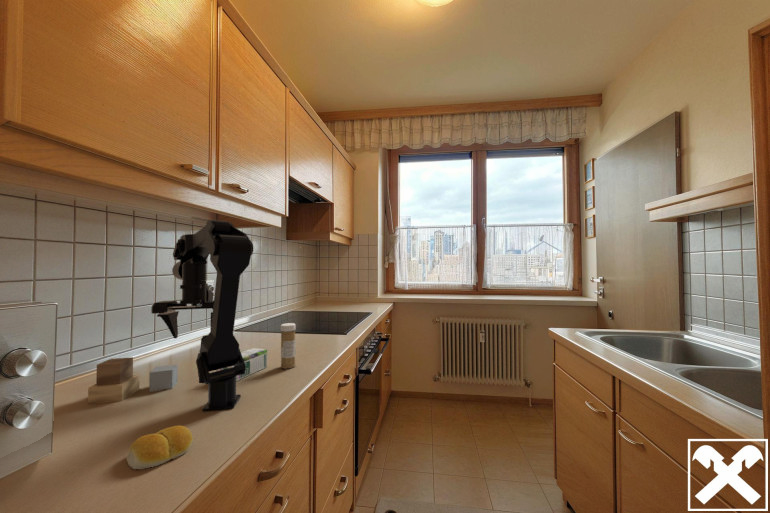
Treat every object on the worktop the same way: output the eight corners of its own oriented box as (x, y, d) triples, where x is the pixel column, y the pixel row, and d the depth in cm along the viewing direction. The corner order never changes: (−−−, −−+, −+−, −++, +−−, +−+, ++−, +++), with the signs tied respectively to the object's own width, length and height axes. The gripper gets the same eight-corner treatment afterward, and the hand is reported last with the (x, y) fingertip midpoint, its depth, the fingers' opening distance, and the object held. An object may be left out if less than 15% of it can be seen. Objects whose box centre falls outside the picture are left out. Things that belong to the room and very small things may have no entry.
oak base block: (121, 401, 74) (121, 385, 74) (88, 404, 73) (88, 387, 73) (139, 390, 81) (139, 375, 81) (108, 392, 79) (108, 377, 80)
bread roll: (200, 448, 54) (200, 425, 54) (137, 478, 47) (138, 451, 47) (180, 434, 59) (180, 413, 59) (120, 458, 52) (120, 434, 52)
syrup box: (267, 367, 97) (231, 384, 83) (252, 365, 99) (214, 382, 85) (267, 349, 97) (231, 363, 83) (252, 347, 99) (214, 361, 85)
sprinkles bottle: (282, 364, 99) (282, 322, 100) (297, 364, 100) (296, 322, 100) (279, 369, 95) (278, 325, 95) (294, 368, 95) (294, 325, 95)
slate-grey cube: (172, 389, 81) (172, 369, 81) (149, 392, 79) (149, 372, 79) (177, 382, 85) (177, 364, 86) (155, 385, 84) (155, 366, 84)
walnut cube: (120, 383, 75) (120, 363, 75) (96, 385, 74) (96, 364, 74) (132, 376, 80) (133, 357, 80) (110, 378, 79) (110, 358, 79)
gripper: (238, 278, 95) (238, 329, 95) (171, 280, 92) (171, 332, 91) (227, 280, 84) (227, 337, 84) (150, 282, 81) (150, 342, 80)
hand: (194, 337), depth 85 cm, fingers open, 9 cm apart
